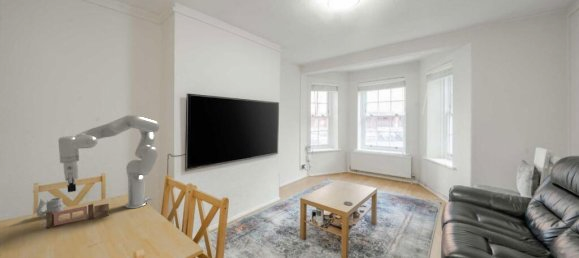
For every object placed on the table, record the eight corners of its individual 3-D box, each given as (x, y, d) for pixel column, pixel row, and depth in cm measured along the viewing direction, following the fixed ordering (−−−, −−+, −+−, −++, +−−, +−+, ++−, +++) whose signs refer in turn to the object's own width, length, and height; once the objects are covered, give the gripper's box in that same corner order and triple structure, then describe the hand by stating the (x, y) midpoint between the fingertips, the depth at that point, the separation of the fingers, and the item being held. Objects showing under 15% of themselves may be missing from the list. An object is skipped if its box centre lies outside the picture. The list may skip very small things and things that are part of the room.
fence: (108, 213, 142) (108, 200, 141) (108, 215, 139) (108, 202, 139) (47, 226, 124) (46, 211, 124) (46, 229, 121) (45, 213, 121)
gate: (87, 217, 134) (86, 206, 134) (87, 218, 133) (86, 206, 132) (54, 224, 125) (53, 212, 124) (53, 225, 124) (53, 212, 123)
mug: (66, 213, 140) (66, 194, 139) (41, 221, 129) (40, 201, 128) (59, 211, 142) (58, 193, 142) (33, 219, 131) (32, 199, 130)
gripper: (78, 160, 120) (81, 193, 122) (79, 155, 131) (81, 186, 133) (58, 162, 115) (61, 197, 117) (60, 157, 126) (63, 189, 128)
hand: (72, 191), depth 125 cm, fingers closed
